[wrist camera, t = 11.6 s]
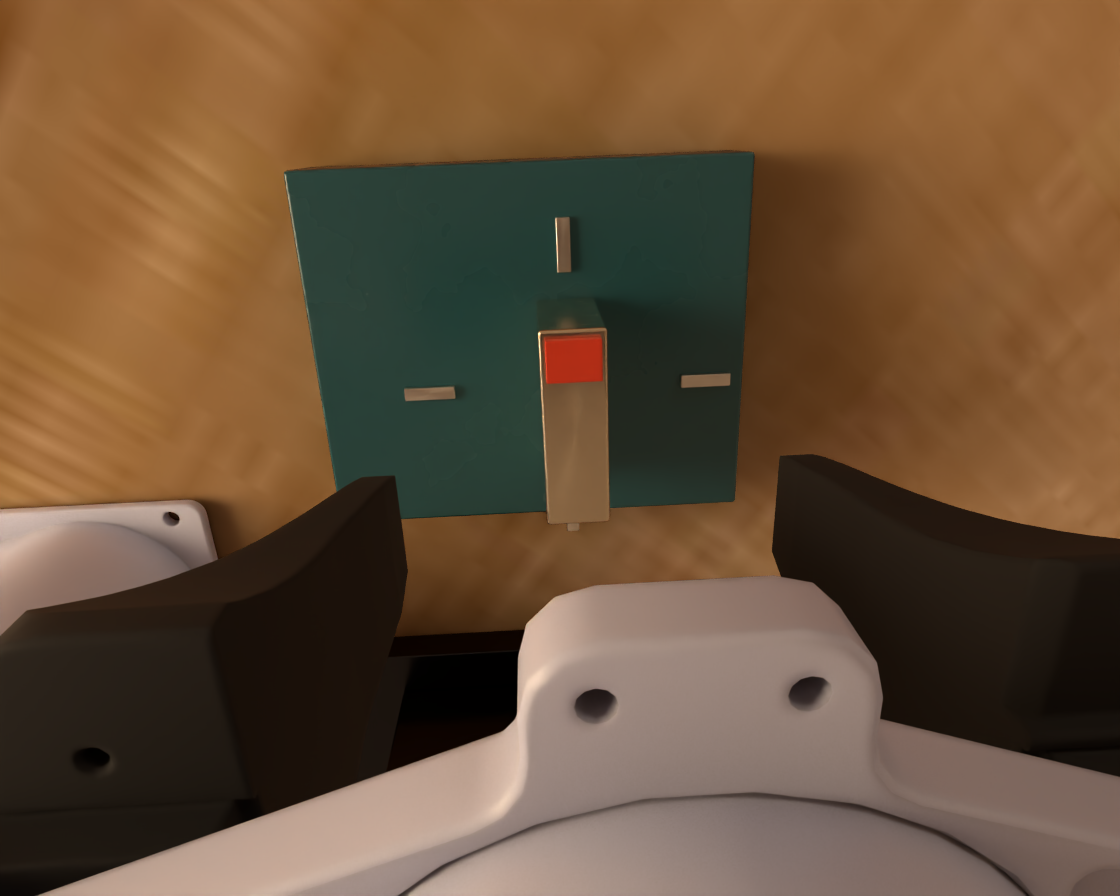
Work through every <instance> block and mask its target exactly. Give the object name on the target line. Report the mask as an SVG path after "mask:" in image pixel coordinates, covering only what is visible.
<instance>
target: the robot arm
mask: <svg viewBox="0 0 1120 896" xmlns="http://www.w3.org/2000/svg"><path fill="white" fill-rule="evenodd" d="M168 512H174V513H175V514H177V515H178V516H179V518H180V520H179V521H178V520H174V519H172V518H171V517H170V516H169V514H168ZM772 553H773V555H774V558H775V561H776V564H777V566H778V569H779V572H780V575H781V577H779V576H757V577H738V578H720V579H702V580H683V581H665V582H646V583H628V584H610V585H595V586H591V587H588V588H584V589H581V590H577V591H574V592H570V593H567V594H563V595H560V596H556V597H554V598H553V599H552V600H551V601H550V602H549V603H548V604H547V605H546V606H545V607H544V608H542V609H541V610H540V611H539V612H538V613H537V614H536V615H535V616H534V617H533V618H532V619H531V620H530V621H529V622H528V623H527V624H526V628H525V632H524V636H523V640H522V643H521V647H520V651H519V655H518V693H517V716H516V718H515V720H514V721H513V722H512V723H511V724H510V725H509V726H508V727H507V728H506V729H505V730H504V731H502V732H499V733H496V734H494V735H491V736H488V737H485V738H482V739H479V740H477V741H474V742H471V743H468V744H465V745H462V746H460V747H457V748H454V749H451V750H448V751H445V752H443V753H440V754H437V755H434V756H431V757H428V758H426V759H423V760H420V761H417V762H414V763H411V764H408V765H406V766H403V767H400V768H397V769H394V770H391V771H389V772H386V773H383V774H380V775H377V776H374V777H372V778H369V779H366V780H363V781H360V782H357V776H358V771H359V765H360V760H361V755H362V749H363V744H364V739H365V734H366V728H367V724H368V721H369V717H370V713H371V709H372V706H373V702H374V699H375V696H376V693H377V690H378V687H379V684H380V680H381V677H382V674H383V671H384V668H385V665H386V662H387V658H388V655H389V652H390V649H391V646H392V643H393V639H394V636H395V633H396V630H397V626H398V623H399V620H400V616H401V613H402V607H403V600H404V594H405V587H406V580H407V573H408V569H407V561H406V554H405V546H404V539H403V531H402V523H401V516H400V508H399V501H398V493H397V486H396V478H395V475H391V476H371V477H361V478H359V479H357V480H355V481H353V482H351V483H350V484H348V485H346V486H345V487H343V488H342V489H340V490H339V491H337V492H336V493H334V494H333V495H331V496H330V497H328V498H327V499H325V500H324V501H322V502H321V503H319V504H318V505H316V506H315V507H313V508H312V509H310V510H309V511H307V512H306V513H304V514H303V515H301V516H299V517H298V518H296V519H294V520H293V521H291V522H289V523H288V524H286V525H284V526H283V527H281V528H279V529H278V530H276V531H274V532H273V533H271V534H269V535H267V536H266V537H264V538H262V539H260V540H258V541H256V542H254V543H252V544H250V545H248V546H246V547H244V548H242V549H240V550H238V551H236V552H233V553H231V554H229V555H227V556H225V557H222V558H220V559H218V557H217V553H216V549H215V545H214V541H213V537H212V533H211V529H210V525H209V520H208V516H207V512H206V510H205V508H204V507H203V506H202V505H201V504H200V503H198V502H196V501H194V500H172V501H153V502H133V503H114V504H94V505H75V506H55V507H36V508H16V509H0V896H1120V539H1116V538H1108V537H1099V536H1090V535H1083V534H1076V533H1070V532H1063V531H1057V530H1052V529H1046V528H1041V527H1036V526H1031V525H1025V524H1020V523H1016V522H1011V521H1007V520H1002V519H998V518H994V517H990V516H987V515H983V514H979V513H976V512H972V511H968V510H965V509H961V508H958V507H955V506H951V505H948V504H945V503H942V502H939V501H937V500H934V499H931V498H928V497H925V496H922V495H920V494H917V493H914V492H911V491H909V490H906V489H904V488H901V487H898V486H896V485H893V484H891V483H888V482H886V481H883V480H881V479H879V478H876V477H874V476H871V475H869V474H866V473H864V472H862V471H859V470H857V469H854V468H852V467H849V466H847V465H845V464H842V463H839V462H837V461H834V460H831V459H828V458H826V457H822V456H818V455H814V454H805V455H786V456H780V458H779V471H778V483H777V496H776V508H775V520H774V533H773V545H772ZM356 782H357V783H356Z"/></svg>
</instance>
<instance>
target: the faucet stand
mask: <svg viewBox="0 0 1120 896" xmlns="http://www.w3.org/2000/svg"><path fill="white" fill-rule="evenodd" d="M524 632H525V630H512V631H494V632H476V633H459V634H441V635H423V636H405V637H394V639H393V643H392V646H391V649H390V652H389V655H388V658H387V662H386V665H385V668H384V671H383V674H382V677H381V680H380V684H379V687H378V690H377V693H376V696H375V699H374V702H373V706H372V709H371V713H370V717H369V721H368V724H367V728H366V734H365V739H364V744H363V749H362V755H361V760H360V765H359V771H358V776H357V782H360V781H363V780H366V779H369V778H372V777H374V776H377V775H380V774H383V773H386V772H389V771H391V770H394V769H397V768H400V767H403V766H406V765H408V764H411V763H414V762H417V761H420V760H423V759H426V758H428V757H431V756H434V755H437V754H440V753H443V752H445V751H448V750H451V749H454V748H457V747H460V746H462V745H465V744H468V743H471V742H474V741H477V740H479V739H482V738H485V737H488V736H491V735H494V734H496V733H499V732H502V731H504V730H505V729H506V728H507V727H508V726H509V725H510V724H511V723H512V722H513V721H514V720H515V718H516V716H517V693H518V655H519V651H520V647H521V643H522V640H523V636H524ZM357 782H356V783H357Z"/></svg>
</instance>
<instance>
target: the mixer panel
mask: <svg viewBox="0 0 1120 896" xmlns="http://www.w3.org/2000/svg"><path fill="white" fill-rule="evenodd" d="M754 160H755V155H754V152H750V151H733V150H723V151H698V152H674V153H649V154H625V155H600V156H576V157H551V158H527V159H502V160H478V161H453V162H429V163H404V164H380V165H355V166H331V167H310V168H302V169H295V170H287V171H285V172H284V179H285V185H286V191H287V197H288V203H289V209H290V215H291V221H292V227H293V233H294V239H295V245H296V251H297V257H298V263H299V269H300V275H301V281H302V287H303V293H304V299H305V305H306V311H307V317H308V323H309V329H310V335H311V341H312V347H313V353H314V359H315V365H316V371H317V377H318V383H319V389H320V395H321V401H322V407H323V413H324V419H325V425H326V431H327V437H328V443H329V449H330V455H331V461H332V467H333V473H334V479H335V485H336V491H339V490H340V489H342V488H343V487H345V486H346V485H348V484H350V483H351V482H353V481H355V480H357V479H359V478H361V477H371V476H391V475H395V478H396V486H397V493H398V501H399V508H400V516H401V519H410V518H430V517H449V516H468V515H487V514H506V513H526V512H545V511H546V496H545V477H544V458H543V438H542V418H541V398H540V378H539V358H538V339H537V319H536V301H538V300H547V299H568V298H590V297H591V298H594V300H595V302H596V305H597V307H598V309H599V312H600V314H601V316H602V319H603V321H604V324H605V326H606V328H607V331H608V402H609V474H610V508H622V507H641V506H660V505H679V504H698V503H718V502H733V501H734V500H735V491H736V473H737V456H738V439H739V421H740V404H741V386H742V369H743V352H744V334H745V317H746V300H747V282H748V265H749V247H750V230H751V213H752V195H753V178H754ZM567 531H579V523H571V524H567Z"/></svg>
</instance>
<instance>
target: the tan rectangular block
mask: <svg viewBox="0 0 1120 896" xmlns="http://www.w3.org/2000/svg"><path fill="white" fill-rule="evenodd" d="M536 319H537V339H538V358H539V378H540V398H541V418H542V438H543V458H544V477H545V496H546V514H547V522H548V524H551V525H552V524H571V523H589V522H607V521H609V519H610V474H609V402H608V331H607V328H606V326H605V324H604V321H603V319H602V316H601V314H600V312H599V309H598V307H597V305H596V302H595V300H594V298H591V297H590V298H568V299H547V300H538V301H536Z"/></svg>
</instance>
